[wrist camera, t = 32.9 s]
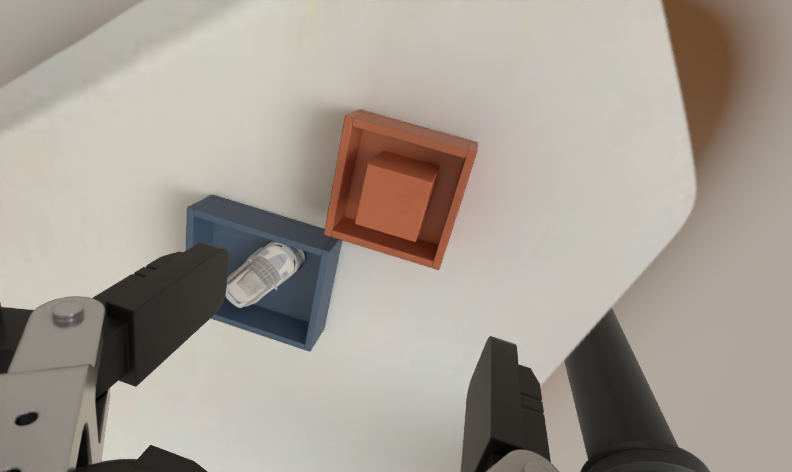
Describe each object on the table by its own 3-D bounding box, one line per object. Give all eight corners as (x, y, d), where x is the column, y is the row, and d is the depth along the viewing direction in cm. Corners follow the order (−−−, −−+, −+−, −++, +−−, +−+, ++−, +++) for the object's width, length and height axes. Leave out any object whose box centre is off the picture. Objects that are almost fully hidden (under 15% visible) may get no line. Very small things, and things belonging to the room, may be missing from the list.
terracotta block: (439, 166, 32) (432, 182, 28) (424, 220, 34) (415, 242, 30) (382, 150, 33) (367, 163, 28) (370, 204, 34) (354, 224, 30)
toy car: (313, 258, 37) (300, 274, 35) (256, 301, 41) (239, 319, 38) (285, 226, 37) (269, 240, 34) (228, 273, 40) (210, 288, 37)
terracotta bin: (478, 142, 31) (477, 152, 28) (443, 251, 35) (439, 270, 32) (359, 109, 32) (345, 115, 29) (338, 218, 36) (323, 234, 33)
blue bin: (343, 235, 37) (329, 252, 33) (324, 329, 41) (310, 352, 38) (212, 194, 38) (186, 207, 34) (206, 290, 42) (183, 309, 39)
